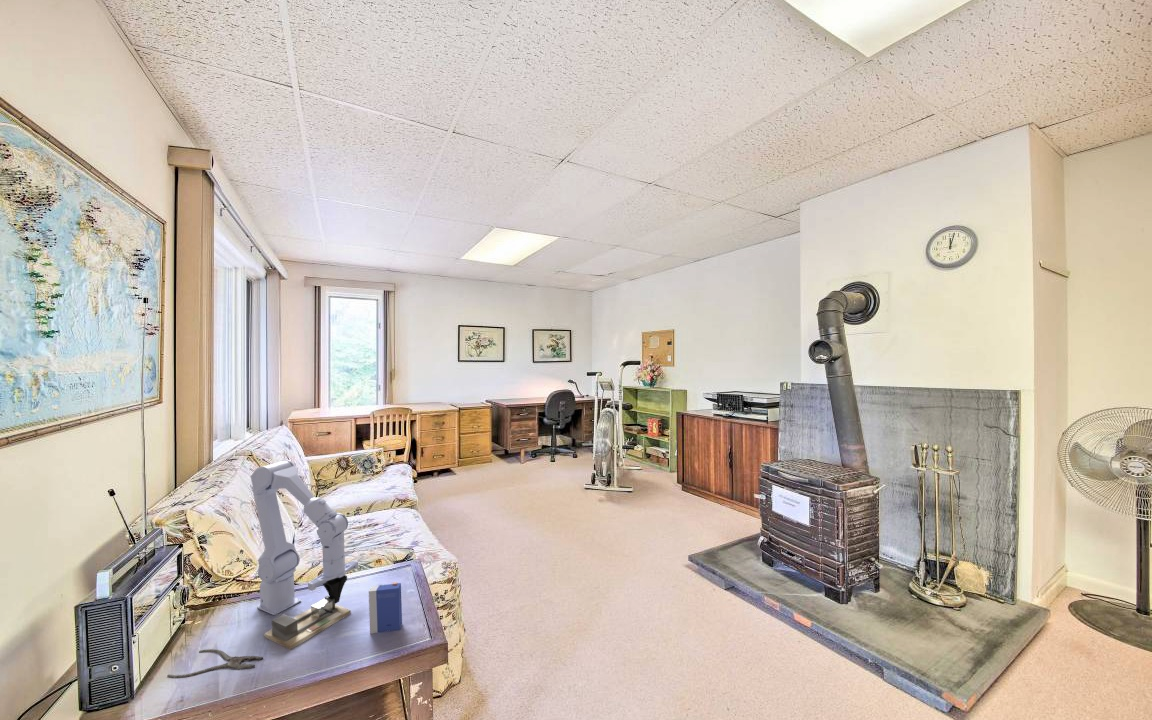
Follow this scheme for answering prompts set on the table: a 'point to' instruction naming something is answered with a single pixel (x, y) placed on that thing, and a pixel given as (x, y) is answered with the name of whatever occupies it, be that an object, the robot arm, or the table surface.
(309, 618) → the bench
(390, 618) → the walkman
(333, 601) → the block with upright rod
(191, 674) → the pliers
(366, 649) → the table surface
